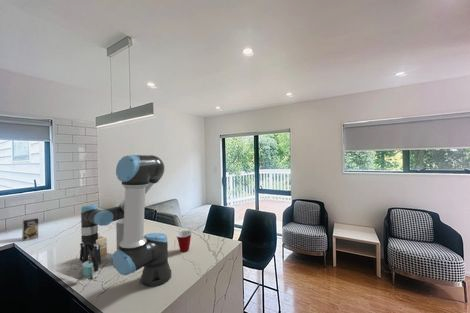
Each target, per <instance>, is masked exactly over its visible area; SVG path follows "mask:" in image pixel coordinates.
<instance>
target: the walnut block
mask: <svg viewBox="0 0 470 313" xmlns="http://www.w3.org/2000/svg"><path fill="white" fill-rule="evenodd" d="M107 248H108V246H107V247H105V248H102V249H100V256H101V258H104V257H106V256H107V253H108V251H107V250H108V249H107ZM88 257H89V259H91V255H90V254H89V256H88ZM91 260H92V259H91Z"/></svg>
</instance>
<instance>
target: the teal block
mask: <svg viewBox="0 0 470 313" xmlns="http://www.w3.org/2000/svg"><path fill="white" fill-rule="evenodd" d="M92 265H93V263H90V264H87V265H85V266H83V267H82V275H83V276H86V277H87V280H91V279H93V278H92Z"/></svg>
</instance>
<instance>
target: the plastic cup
mask: <svg viewBox="0 0 470 313" xmlns="http://www.w3.org/2000/svg"><path fill="white" fill-rule="evenodd" d="M192 234H193V231H191V230H183V231H179V232H177V233H176V234H175V237H176V238H177V242H178V248H179V251H180V253H186V252H189V250H190V246H191V245H190V244H191V238H192Z"/></svg>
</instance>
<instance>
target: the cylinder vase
mask: <svg viewBox="0 0 470 313" xmlns="http://www.w3.org/2000/svg"><path fill="white" fill-rule="evenodd" d="M115 224H116V227H115V228H116V230H115V232H116V233H115V234H116V236H115V238H116V251H117V250H119V243H120V242H121V241H122V240H123V231H124V219H120V220H116V221H115Z"/></svg>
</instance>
